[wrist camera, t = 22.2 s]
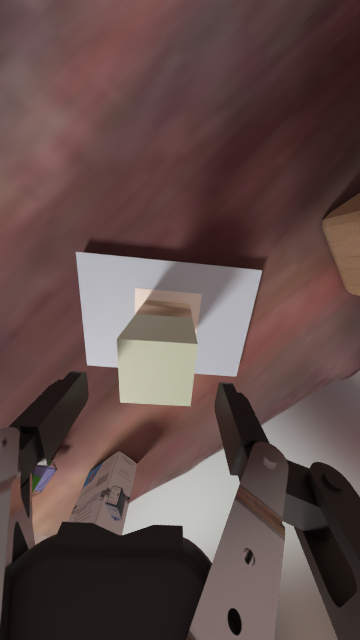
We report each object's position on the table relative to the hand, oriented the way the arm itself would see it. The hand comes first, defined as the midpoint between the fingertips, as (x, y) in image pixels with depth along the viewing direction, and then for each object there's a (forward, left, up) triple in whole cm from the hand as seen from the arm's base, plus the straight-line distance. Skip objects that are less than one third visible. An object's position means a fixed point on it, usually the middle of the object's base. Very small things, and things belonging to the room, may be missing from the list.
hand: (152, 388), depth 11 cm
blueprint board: (0, 0, -13) cm, 13 cm away
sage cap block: (0, 0, -6) cm, 6 cm away
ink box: (-8, -30, -13) cm, 33 cm away
